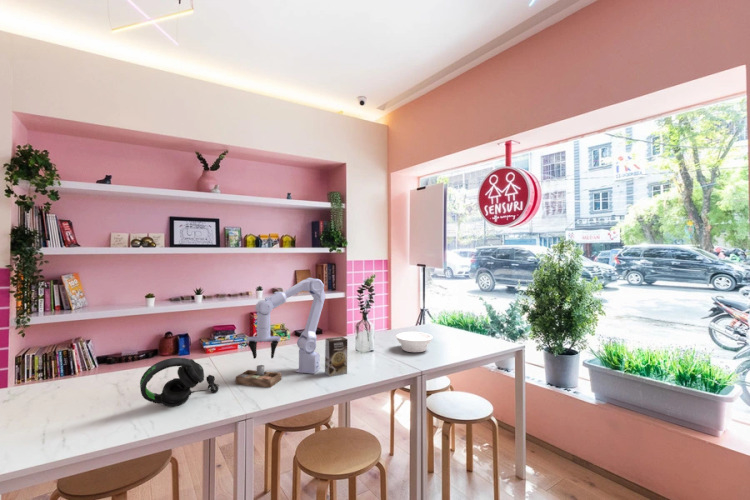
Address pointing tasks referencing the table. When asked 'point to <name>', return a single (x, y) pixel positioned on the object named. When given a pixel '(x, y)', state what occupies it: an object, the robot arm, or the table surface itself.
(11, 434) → the table surface
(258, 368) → the peg
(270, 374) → the socket block
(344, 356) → the coffee box
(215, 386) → the headset
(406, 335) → the bowl
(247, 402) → the table surface
